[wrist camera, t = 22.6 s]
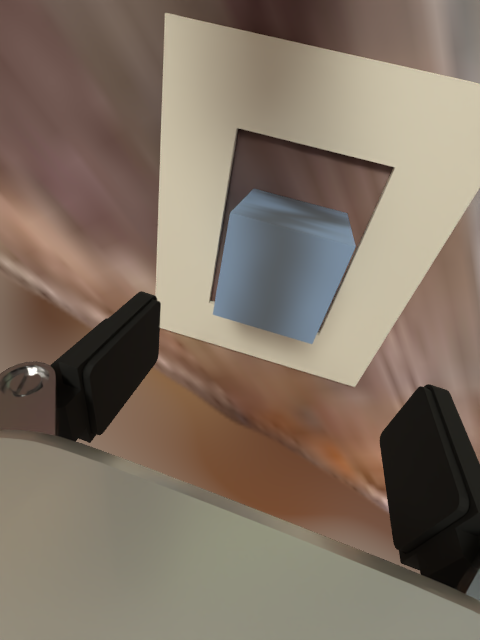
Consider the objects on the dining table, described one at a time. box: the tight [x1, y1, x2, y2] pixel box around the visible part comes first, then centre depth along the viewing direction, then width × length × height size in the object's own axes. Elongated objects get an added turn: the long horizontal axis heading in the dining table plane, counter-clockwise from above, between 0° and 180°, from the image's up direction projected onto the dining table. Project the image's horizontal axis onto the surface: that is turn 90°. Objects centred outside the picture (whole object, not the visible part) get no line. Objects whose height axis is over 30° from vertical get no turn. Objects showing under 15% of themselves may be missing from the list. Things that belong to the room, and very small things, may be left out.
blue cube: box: [213, 189, 356, 344], centre depth 18 cm, size 6×6×6 cm
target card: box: [156, 13, 480, 387], centre depth 20 cm, size 18×20×1 cm
